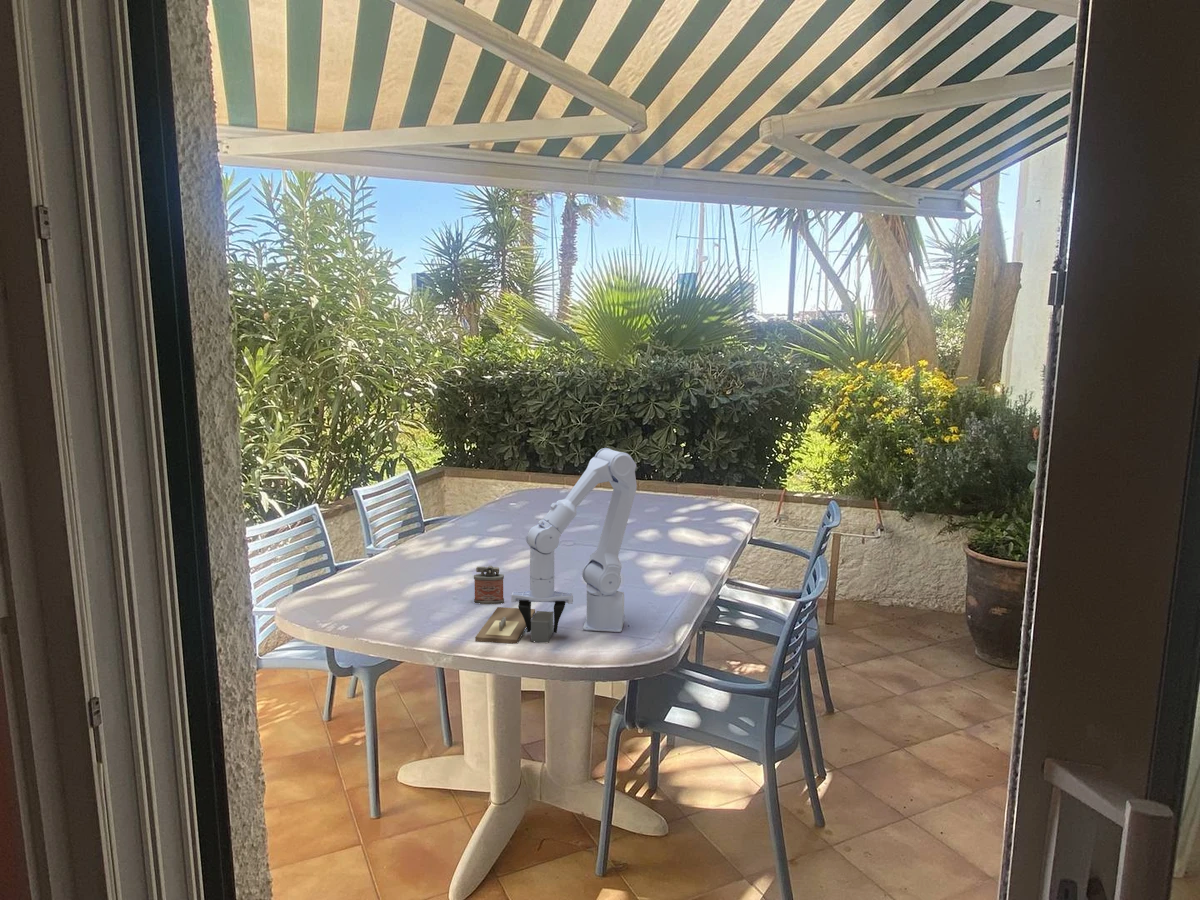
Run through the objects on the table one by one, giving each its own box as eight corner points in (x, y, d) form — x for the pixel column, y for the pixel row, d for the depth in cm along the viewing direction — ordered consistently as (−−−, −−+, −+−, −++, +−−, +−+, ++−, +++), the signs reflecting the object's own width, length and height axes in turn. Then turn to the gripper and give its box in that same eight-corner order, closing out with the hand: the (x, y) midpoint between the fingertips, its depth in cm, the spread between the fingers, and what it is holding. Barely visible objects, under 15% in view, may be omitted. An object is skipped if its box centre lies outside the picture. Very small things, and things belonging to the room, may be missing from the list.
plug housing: (553, 631, 177) (553, 611, 176) (547, 643, 170) (547, 622, 169) (537, 630, 177) (537, 610, 177) (530, 641, 170) (530, 621, 170)
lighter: (504, 600, 198) (504, 564, 197) (503, 604, 195) (503, 568, 194) (475, 600, 198) (474, 564, 197) (473, 604, 195) (472, 568, 193)
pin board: (535, 612, 189) (535, 601, 189) (516, 643, 169) (516, 630, 169) (497, 610, 190) (497, 599, 190) (475, 641, 171) (475, 628, 170)
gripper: (574, 571, 175) (573, 625, 177) (514, 570, 176) (514, 623, 178) (571, 580, 168) (571, 636, 170) (509, 579, 169) (510, 635, 171)
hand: (542, 631), depth 173 cm, fingers open, 6 cm apart
